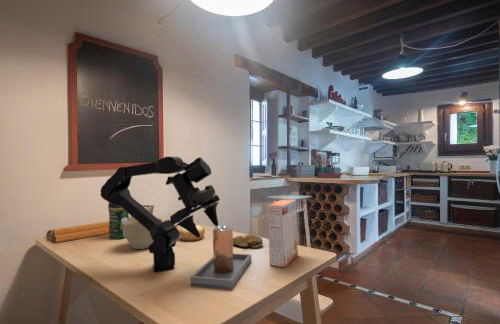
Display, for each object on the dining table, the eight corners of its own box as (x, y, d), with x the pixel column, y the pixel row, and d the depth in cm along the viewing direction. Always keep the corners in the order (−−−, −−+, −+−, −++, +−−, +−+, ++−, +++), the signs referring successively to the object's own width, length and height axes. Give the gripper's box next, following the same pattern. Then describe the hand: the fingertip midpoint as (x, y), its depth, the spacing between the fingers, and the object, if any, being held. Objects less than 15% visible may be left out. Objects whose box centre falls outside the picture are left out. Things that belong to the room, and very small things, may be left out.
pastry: (179, 237, 136) (178, 219, 136) (204, 234, 139) (203, 216, 139) (179, 243, 124) (179, 223, 124) (206, 240, 127) (205, 220, 127)
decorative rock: (270, 245, 120) (242, 241, 128) (270, 235, 120) (242, 232, 128) (255, 251, 110) (226, 246, 119) (255, 240, 111) (226, 237, 119)
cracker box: (283, 253, 107) (282, 198, 107) (298, 255, 104) (297, 199, 104) (268, 265, 95) (266, 204, 95) (284, 268, 92) (283, 205, 92)
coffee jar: (106, 237, 136) (105, 199, 136) (120, 234, 143) (119, 197, 143) (118, 240, 131) (117, 201, 131) (132, 236, 138) (131, 198, 138)
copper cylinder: (216, 275, 86) (215, 229, 86) (211, 268, 92) (210, 225, 92) (236, 271, 89) (235, 227, 88) (229, 264, 94) (228, 223, 94)
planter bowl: (164, 248, 117) (163, 222, 117) (122, 254, 111) (121, 227, 111) (161, 239, 132) (161, 216, 132) (124, 243, 126) (123, 219, 126)
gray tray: (190, 285, 81) (190, 277, 81) (218, 259, 102) (217, 252, 102) (232, 289, 78) (231, 280, 78) (251, 261, 99) (251, 254, 99)
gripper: (178, 187, 81) (204, 234, 79) (218, 172, 97) (240, 212, 95) (159, 202, 87) (182, 246, 86) (199, 186, 103) (220, 223, 101)
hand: (208, 231), depth 92 cm, fingers open, 9 cm apart
